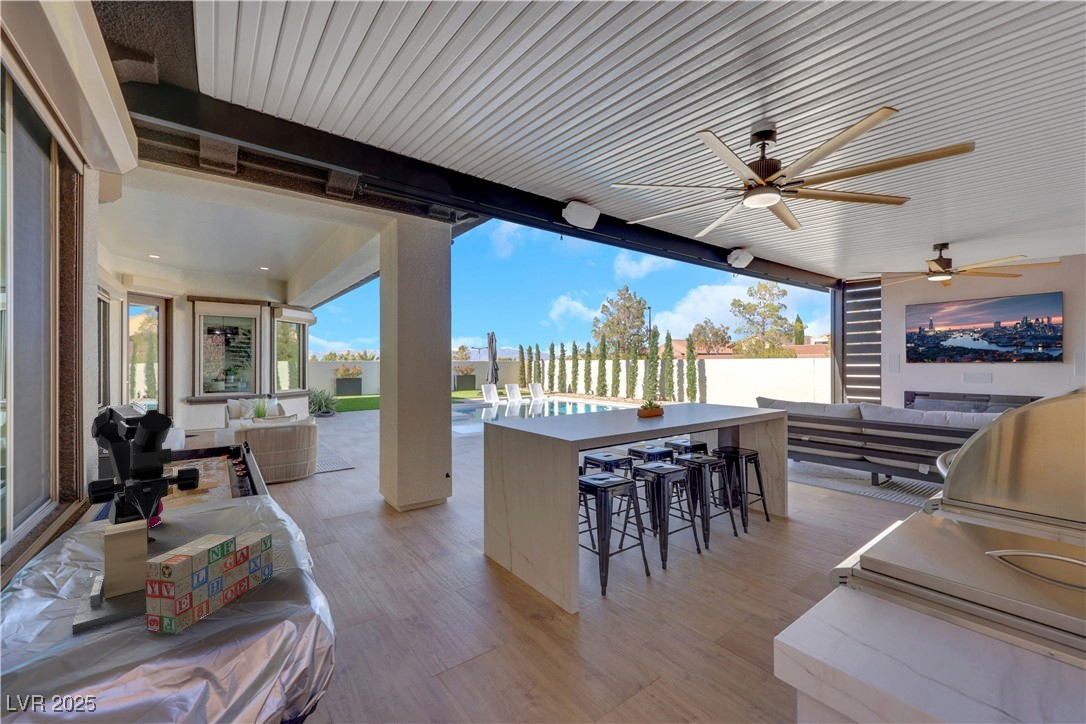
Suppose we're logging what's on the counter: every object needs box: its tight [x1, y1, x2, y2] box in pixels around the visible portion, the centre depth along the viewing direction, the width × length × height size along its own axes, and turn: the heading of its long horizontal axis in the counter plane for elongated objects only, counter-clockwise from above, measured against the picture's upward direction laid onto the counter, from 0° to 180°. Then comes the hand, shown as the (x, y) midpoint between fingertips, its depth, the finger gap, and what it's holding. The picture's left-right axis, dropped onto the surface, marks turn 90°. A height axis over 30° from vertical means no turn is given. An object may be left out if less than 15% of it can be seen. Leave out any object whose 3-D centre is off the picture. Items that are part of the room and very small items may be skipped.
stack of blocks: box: [145, 531, 274, 635], centre depth 88 cm, size 21×6×12 cm, turn 169°
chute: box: [71, 573, 147, 635], centre depth 90 cm, size 22×13×4 cm, turn 40°
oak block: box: [103, 519, 148, 598], centre depth 90 cm, size 6×6×12 cm
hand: (147, 518), depth 99 cm, fingers closed
